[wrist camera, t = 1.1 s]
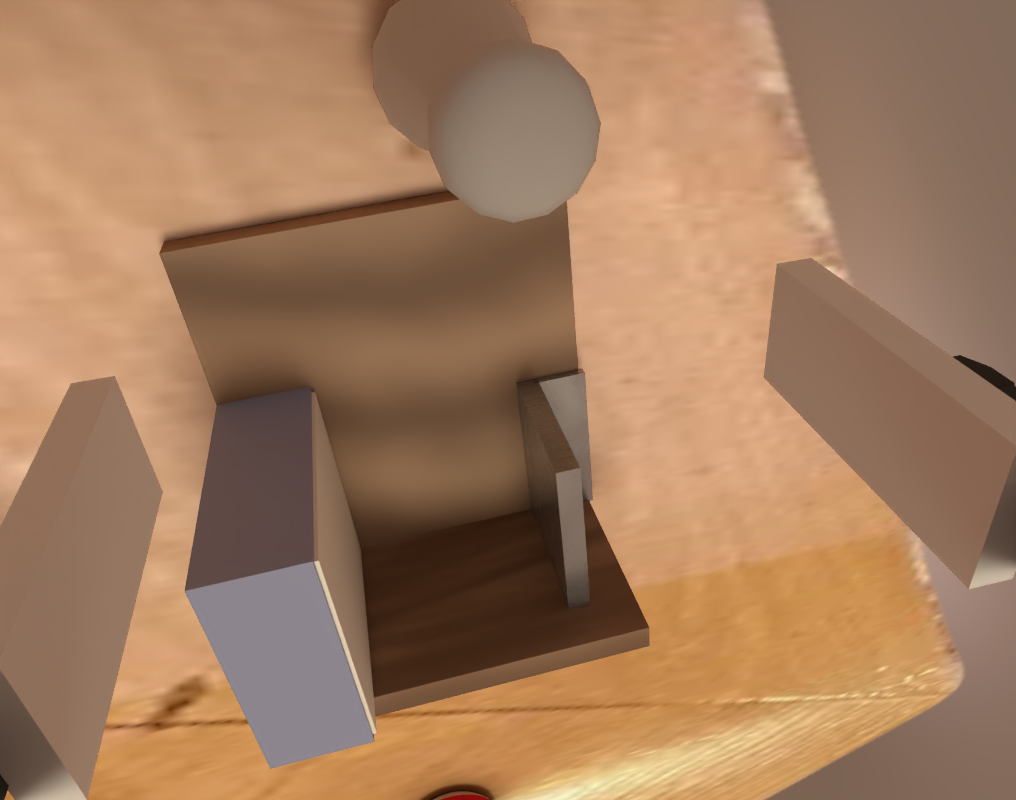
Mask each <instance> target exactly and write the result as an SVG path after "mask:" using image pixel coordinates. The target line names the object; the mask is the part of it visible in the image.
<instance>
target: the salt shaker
mask: <svg viewBox="0 0 1016 800" xmlns="http://www.w3.org/2000/svg"><path fill="white" fill-rule="evenodd" d="M372 59H373V88H374V90H375V92H376V94H377V97H378V99H379V101H380V103H381V105H382V108H383V110H384V112H385V114H386V116H387V119H388V121H389V123H390V124H391V125H392V126H394V127H395V128H396V129H397V130H398V131H400V132H401V133H402V134H403V135H405V136H406V137H407V138H408V139H410V140H411V141H412V142H413V143H415V144H416V145H417V146H418V147H421V148H424V149H426V150H429V151H430V154H431V156H432V159H433V161H434V163H435V165H436V168H437V170H438V172H439V175H440V177H441V179H442V181H443V184H444V186H445V188H446V189H448V190H449V191H450V192H451V193H453V194H454V195H455V196H456V197H458V198H459V199H460V200H461V201H463V202H464V203H465V204H466V205H468V206H469V207H470V208H471V209H473V210H474V211H475V212H477V213H478V214H480V215H483V216H488V217H492V218H496V219H500V220H504V221H509V222H513V223H515V222H519V221H523V220H527V219H531V218H535V217H540V216H544V215H548V214H549V213H551V212H552V211H553V210H555V209H556V208H557V207H559V206H560V205H562V204H563V203H564V202H566V201H567V200H568V199H570V198H571V197H572V196H574V195H575V194H577V192H578V191H579V189H580V187H581V185H582V184H583V182H584V180H585V178H586V176H587V175H588V173H589V171H590V169H591V168H592V166H593V164H594V162H595V161H596V153H597V146H598V139H599V132H600V124H601V123H600V120H599V116H598V113H597V110H596V107H595V104H594V101H593V98H592V95H591V92H590V89H589V86H588V84H587V83H586V81H585V79H584V78H583V77H582V76H581V75H580V74H579V73H578V72H577V71H576V69H575V68H574V67H573V66H572V65H571V64H570V63H569V62H568V61H567V60H566V59H565V58H564V57H563V56H562V55H561V54H560V53H559V51H556V50H554V49H551V48H548V47H544V46H541V45H538V44H534V43H532V40H531V37H530V35H529V32H528V29H527V26H526V23H525V21H524V18H523V16H522V15H521V14H520V13H519V11H518V10H517V9H516V8H515V7H514V6H513V5H512V4H511V3H510V2H509V1H508V0H399V1H398V2H397V3H395V4H394V5H393V6H392V7H391V8H389V10H388V12H387V15H386V17H385V19H384V21H383V24H382V26H381V28H380V30H379V33H378V35H377V37H376V39H375V42H374V44H373V46H372Z"/></svg>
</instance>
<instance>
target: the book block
mask: <svg viewBox="0 0 1016 800" xmlns="http://www.w3.org/2000/svg"><path fill="white" fill-rule="evenodd" d="M185 593H186V595H187V597H188V599H189V601H190V603H191V605H192V607H193V609H194V611H195V613H196V616H197V618H198V620H199V622H200V624H201V626H202V628H203V630H204V632H205V634H206V636H207V638H208V640H209V642H210V645H211V647H212V649H213V651H214V653H215V655H216V657H217V659H218V661H219V663H220V665H221V667H222V669H223V671H224V673H225V676H226V678H227V680H228V682H229V684H230V686H231V688H232V690H233V692H234V694H235V696H236V698H237V700H238V702H239V704H240V707H241V709H242V711H243V713H244V715H245V717H246V719H247V721H248V723H249V725H250V727H251V729H252V731H253V733H254V736H255V738H256V740H257V742H258V744H259V746H260V748H261V750H262V752H263V754H264V756H265V758H266V760H267V762H268V764H269V767H270V769H271V768H275V767H279V766H283V765H287V764H290V763H294V762H298V761H302V760H306V759H310V758H313V757H317V756H321V755H325V754H329V753H332V752H336V751H340V750H344V749H348V748H352V747H355V746H359V745H363V744H367V743H371V742H374V734H375V733H377V730H376V718H375V707H374V695H373V684H372V673H371V661H370V650H369V638H368V627H367V615H366V604H365V592H364V581H363V569H362V558H361V548H360V544H359V541H358V537H357V534H356V530H355V527H354V524H353V520H352V517H351V513H350V510H349V506H348V503H347V500H346V496H345V493H344V489H343V486H342V482H341V479H340V476H339V472H338V469H337V465H336V462H335V458H334V455H333V452H332V448H331V445H330V441H329V438H328V434H327V431H326V428H325V424H324V421H323V417H322V414H321V410H320V407H319V404H318V400H317V397H316V393H315V392H312V390H311V387H310V386H309V387H304V388H299V389H294V390H289V391H284V392H279V393H274V394H270V395H265V396H260V397H255V398H250V399H245V400H240V401H235V402H230V403H225V404H221V405H217V408H216V413H215V419H214V425H213V431H212V437H211V442H210V448H209V454H208V460H207V465H206V471H205V477H204V483H203V488H202V494H201V500H200V506H199V511H198V517H197V523H196V529H195V535H194V540H193V546H192V552H191V558H190V563H189V569H188V575H187V581H186V586H185Z"/></svg>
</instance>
